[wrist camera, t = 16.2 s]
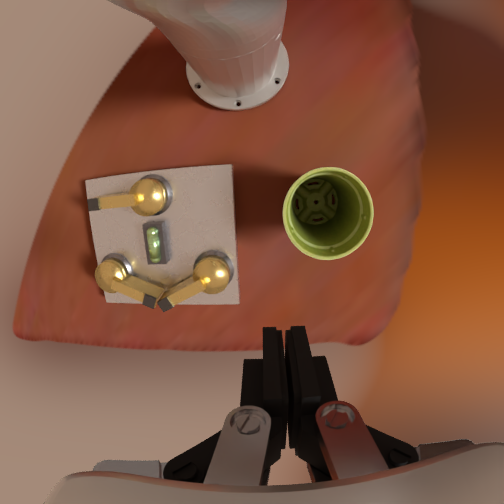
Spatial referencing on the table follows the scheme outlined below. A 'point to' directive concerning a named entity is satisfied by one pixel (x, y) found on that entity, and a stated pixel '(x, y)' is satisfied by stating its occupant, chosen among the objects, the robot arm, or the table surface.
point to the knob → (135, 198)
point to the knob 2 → (198, 282)
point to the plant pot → (328, 213)
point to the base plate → (171, 229)
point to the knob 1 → (126, 283)
